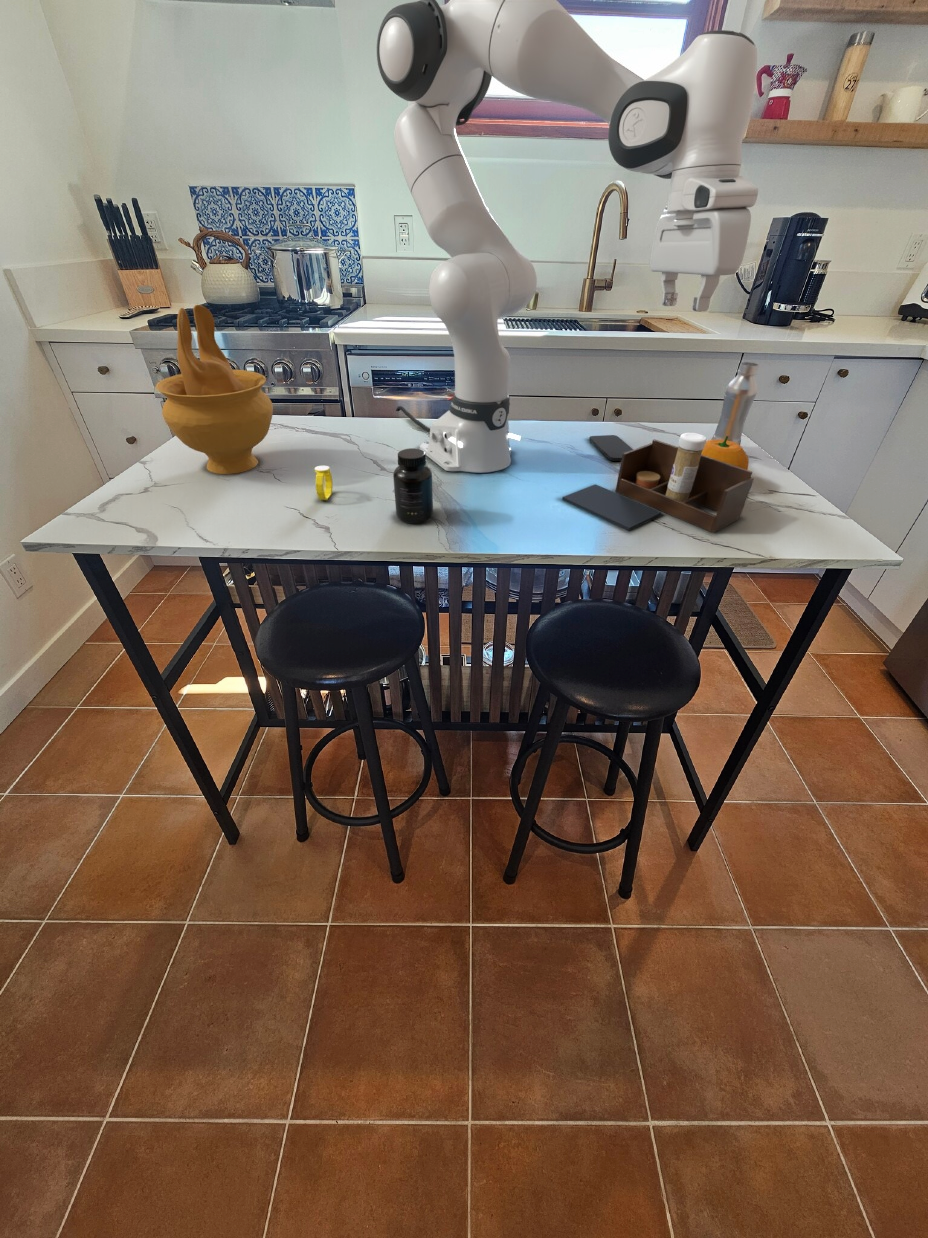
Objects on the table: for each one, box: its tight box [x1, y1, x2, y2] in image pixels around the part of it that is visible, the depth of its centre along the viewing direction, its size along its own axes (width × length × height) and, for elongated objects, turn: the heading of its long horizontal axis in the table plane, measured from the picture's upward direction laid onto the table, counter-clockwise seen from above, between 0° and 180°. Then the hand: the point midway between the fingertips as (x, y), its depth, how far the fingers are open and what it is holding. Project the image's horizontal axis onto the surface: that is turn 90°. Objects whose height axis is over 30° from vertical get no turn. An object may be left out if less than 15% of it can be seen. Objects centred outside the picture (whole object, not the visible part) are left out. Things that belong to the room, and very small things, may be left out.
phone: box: [588, 434, 634, 462], centre depth 129 cm, size 7×1×15 cm
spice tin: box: [635, 471, 660, 489], centre depth 110 cm, size 5×5×4 cm
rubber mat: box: [561, 483, 663, 532], centre depth 105 cm, size 16×10×1 cm, turn 40°
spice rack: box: [614, 439, 755, 534], centre depth 104 cm, size 22×9×9 cm, turn 40°
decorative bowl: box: [155, 304, 274, 475], centre depth 110 cm, size 21×21×30 cm
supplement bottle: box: [392, 447, 434, 525], centre depth 97 cm, size 7×7×12 cm
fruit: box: [701, 436, 750, 470], centre depth 112 cm, size 12×12×10 cm
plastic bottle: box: [710, 361, 760, 446], centre depth 121 cm, size 6×7×20 cm
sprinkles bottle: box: [666, 432, 707, 502], centre depth 103 cm, size 5×5×14 cm
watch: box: [314, 465, 333, 501], centre depth 105 cm, size 6×3×6 cm, turn 175°
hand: (683, 308), depth 85 cm, fingers open, 8 cm apart
